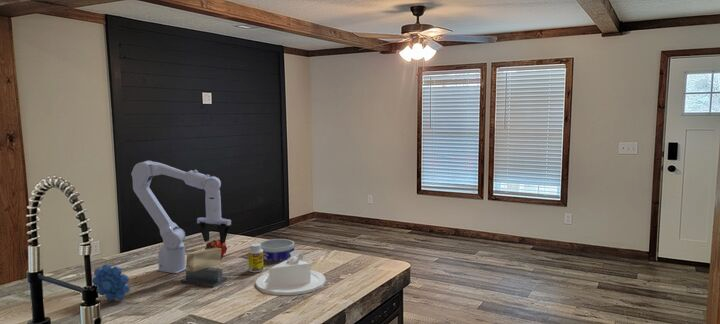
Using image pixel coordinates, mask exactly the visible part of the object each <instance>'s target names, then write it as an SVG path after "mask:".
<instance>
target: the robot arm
mask: <svg viewBox="0 0 720 324" xmlns="http://www.w3.org/2000/svg"><path fill="white" fill-rule="evenodd" d="M132 168H133V169H132V171H131V173H130V175H131V177H132V190H133V192H134V193H135V195H136V196H137V198H138V199H139V201H140V203H141V204H142V206H143V207H144V208H145V210H146V212H148V214H149V215H150V217H151V218H152V220H153V221H154V223H155V224H156V226H157V227H158V229H159V234H160V237H161V238H162V243H163V245H164V246H162V247H161V248H160V249H159V251H158V254H157V256H158V257H157V258H158V268H157V270H156V271H158V272H165V273H172V274H179V273H181V272H183V271H186V249H185V243H184V240H185V238H186V232H185V230H184V229H182V228H180V227H179V226H178V224H177V223H176V222H174V221H172V219H171V218H170V216H169V215H168V214H167V212H166V210H165V209H164V207H163V206H162V204H161V203H160V202H159V200H158V199H157V197H156V195H155V194H154V192H153V191H152V189H151V187H150V185H151V182H152V179H153V178H154V177H155V176H161V175H164V176H166V177H167V176H168V177H171V178H175V179H178V180H182V181H183V182H184V183H185V185H187V186H190V187H194V188H196V189H200V190H203V191H205V197H204V198H205V200H204V201H205V217H200V216H199V217H198V218H196V224H197V228H198V229H199V232H200V233H201V236H202V238H203V239H202V240H203V241H204V243H206V242H207V243H208V242H209V241H210V228H211V225H218V226H217V230H218V232H219V233H218V234H219V239H220V243H221V244H222V243H226V240H227V235H228V233H229V231H230V228H231V226H232V220H231V219H227V218H223V217H222V201H221V200H222V198H221V186H222V181H221V180H220V178H219V177H218V176H217V177H216V176H215V175H212V176H211V175H210V174H208V173H207V174H204V173H201V172H199V171H198V170H197V169H194V170H192V169H191V170H189V171H184V170H181V169H179V168H176V167H172V166H170V165H168V164H164V163H162V162H157V161H152V160H145V161H141V162H138V163H136V164H135V165H134V166H133V167H132Z"/></svg>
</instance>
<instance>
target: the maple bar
mask: <svg viewBox="0 0 720 324" xmlns="http://www.w3.org/2000/svg"><path fill="white" fill-rule="evenodd" d="M221 249H222V248H210V249H206V250H205V249H201V250H195V251H192V252H191V251H190V252H187V253H186V260H185V266H186V270H185V272H186V271H192V272H194V271H197V270H201V269H205V268H209V267H211V268H214V267H216V266H219V265H221V264H222V263H221V261H222V258H221Z"/></svg>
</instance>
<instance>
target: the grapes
mask: <svg viewBox="0 0 720 324" xmlns="http://www.w3.org/2000/svg"><path fill="white" fill-rule="evenodd" d="M93 274H94V277H93V278H92V280H91V283H92V284H93V286H95V285H96V286H95V287H97V288H98V293H97V294H98V295H99V296H105V299H106V300H108V301H110V302H112V301H114V300H115V299H117V300H119V301H120V300H123V299H124V298H125V297H126V295H125V294H127V293H129V292H130V289H131V288H130V285H129V284H128V282H129V276H128V275H126V274H123V273H122V269H121V268H120V267H118V266H113V267H112V266H111V265H110V264H107V263H105V264H103V265H102V267H99V268H95V270H94V271H93Z"/></svg>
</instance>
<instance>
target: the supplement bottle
mask: <svg viewBox="0 0 720 324" xmlns="http://www.w3.org/2000/svg"><path fill="white" fill-rule="evenodd" d="M263 270H264V261H263V249H261V244H259V243H252V244H250V248H249V249H248V271H249V272H250V273H260V272H262V271H263Z"/></svg>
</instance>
